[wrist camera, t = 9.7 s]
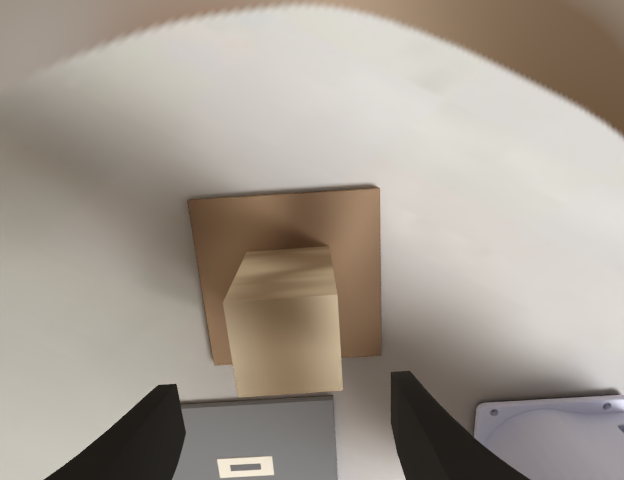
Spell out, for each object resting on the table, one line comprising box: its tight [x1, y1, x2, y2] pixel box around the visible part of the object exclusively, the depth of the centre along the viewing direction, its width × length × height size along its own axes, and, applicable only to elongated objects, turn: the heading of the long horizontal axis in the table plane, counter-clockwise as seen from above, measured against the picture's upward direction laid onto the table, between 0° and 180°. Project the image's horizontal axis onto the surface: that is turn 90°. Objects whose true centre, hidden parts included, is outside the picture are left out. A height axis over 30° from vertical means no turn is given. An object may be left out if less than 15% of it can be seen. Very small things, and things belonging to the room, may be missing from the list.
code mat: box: [172, 396, 338, 480], centre depth 26 cm, size 12×12×1 cm
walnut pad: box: [187, 188, 381, 365], centre depth 21 cm, size 10×10×1 cm
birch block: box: [223, 246, 343, 398], centre depth 18 cm, size 4×4×6 cm
